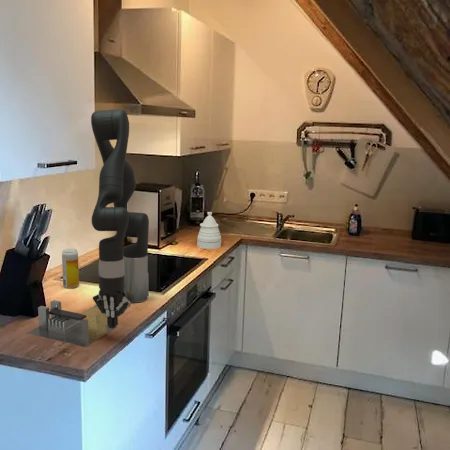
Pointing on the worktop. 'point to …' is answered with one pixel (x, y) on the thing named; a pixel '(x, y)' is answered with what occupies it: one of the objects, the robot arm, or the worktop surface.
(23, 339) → the worktop surface
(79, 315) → the strap
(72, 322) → the heatsink base
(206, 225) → the honey pot
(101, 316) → the gold block
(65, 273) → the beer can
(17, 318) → the worktop surface
